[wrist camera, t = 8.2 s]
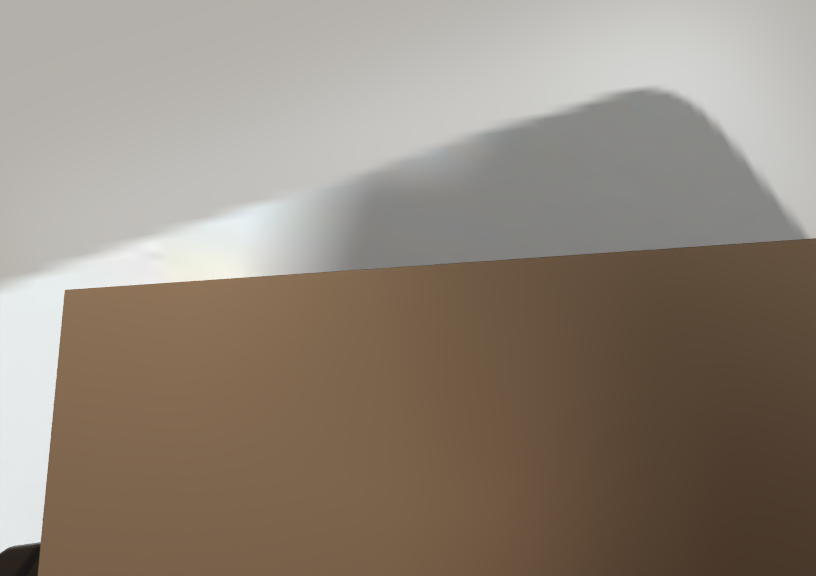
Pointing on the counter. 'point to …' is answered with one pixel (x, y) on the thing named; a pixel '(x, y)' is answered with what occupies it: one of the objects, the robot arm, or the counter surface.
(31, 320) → the counter surface
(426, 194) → the counter surface
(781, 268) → the block
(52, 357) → the counter surface
